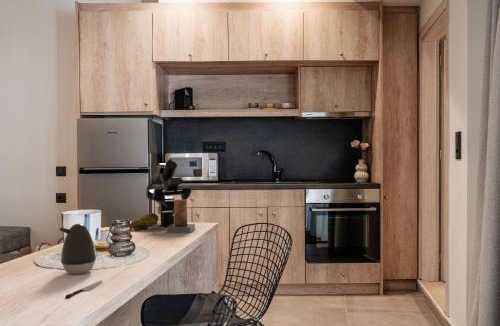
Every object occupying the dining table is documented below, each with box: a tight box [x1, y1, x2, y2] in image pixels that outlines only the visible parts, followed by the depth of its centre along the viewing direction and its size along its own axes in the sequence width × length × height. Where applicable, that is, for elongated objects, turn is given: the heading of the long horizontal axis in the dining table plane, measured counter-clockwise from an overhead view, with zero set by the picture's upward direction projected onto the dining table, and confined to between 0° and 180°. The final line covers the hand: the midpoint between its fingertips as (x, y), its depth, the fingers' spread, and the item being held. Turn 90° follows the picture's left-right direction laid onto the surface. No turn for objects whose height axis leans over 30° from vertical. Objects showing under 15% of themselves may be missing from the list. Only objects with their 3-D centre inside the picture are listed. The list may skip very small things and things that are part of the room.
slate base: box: [166, 223, 196, 234], centre depth 230 cm, size 11×11×2 cm
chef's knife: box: [64, 280, 103, 299], centre depth 132 cm, size 19×1×3 cm
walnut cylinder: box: [174, 199, 188, 226], centre depth 230 cm, size 6×6×12 cm
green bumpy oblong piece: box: [130, 212, 159, 230], centre depth 237 cm, size 8×13×8 cm, turn 80°
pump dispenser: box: [59, 223, 97, 275], centre depth 151 cm, size 10×10×15 cm
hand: (176, 206), depth 235 cm, fingers open, 9 cm apart
